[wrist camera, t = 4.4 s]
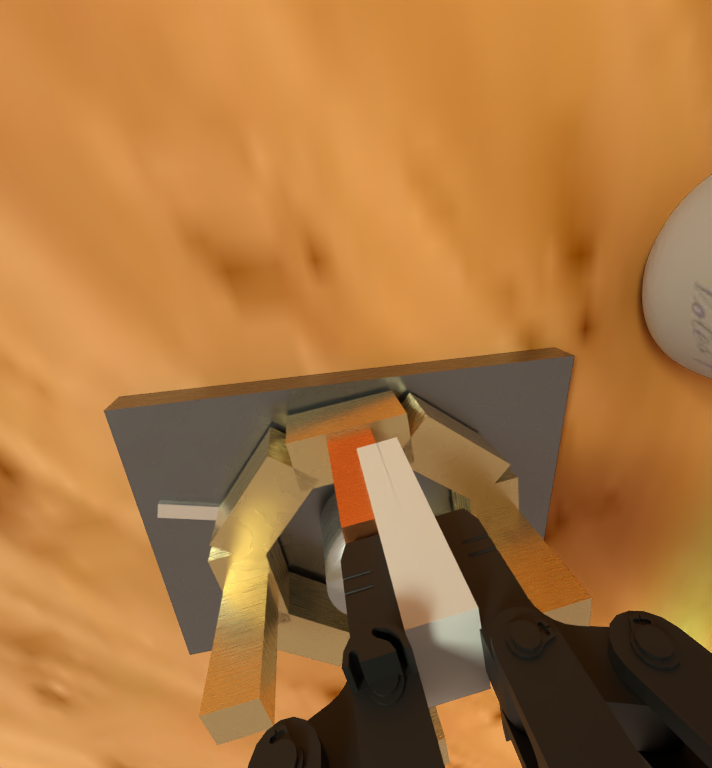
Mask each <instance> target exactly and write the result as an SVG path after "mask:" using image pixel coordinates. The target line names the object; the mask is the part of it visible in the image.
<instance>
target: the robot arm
mask: <svg viewBox="0 0 712 768" xmlns="http://www.w3.org/2000/svg"><path fill="white" fill-rule="evenodd" d="M357 453H358V456H359V460H360V464H361V468H362V471H363V475H364V479H365V483H366V486H367V490H368V494H369V498H370V502H371V505H372V509H373V513H374V517H375V520H376V524H377V528H378V532H379V534H378V535H374V536H371V537H367V538H364V539H361V540H357V541H354V542H350V543H347V544H345V547H344V551H343V554H342V557H341V560H340V562H341V570H342V578H343V586H344V593H345V602H346V610H347V618H348V626H349V634H350V638H349V640H348V642H347V645H346V647H345V649H344V651H343V659H342V669H343V672H344V674H345V677H346V679H347V682H346V684H345V686H344V688H343V689H342V691H341V692H340V694H339V695H338V696H337V697H336V698H335V699H334V700H333V701H332V702H331V703H330V704H329V705H327V706H326V707H325V708H323V709H322V710H321V711H319V712H318V713H317V714H316V715H314V716H313V717H312V718H310V719H309V720H308V721H306V720H304V719H300V718H296V717H291V718H287V719H283V720H280V721H279V722H277V723H276V724H275V725H273V726H272V727H271V728H269V729H268V730H267V731H266V733H265V734H264V735H263V737H262V738H261V739H260V741H259V742H258V743H257V745H256V747H255V750H254V752H253V755H252V757H251V760H250V762H249V765H248V768H445V765H444V762H443V758H442V754H441V751H440V747H439V743H438V740H437V736H436V733H435V729H434V725H433V722H432V718H431V715H430V711H429V708H430V707H433V706H437V705H440V704H443V703H446V702H449V701H452V700H456V699H459V698H462V697H465V696H468V695H471V694H475V693H478V692H481V691H484V690H487V689H491V687H490V682H491V684H492V686H493V689H494V691H495V693H496V696H497V698H498V700H499V703H500V710H501V717H502V724H503V730H504V734H505V738H506V741H509V740H511V741H512V743H513V746H514V748H515V750H516V753H517V755H518V758H519V760H520V762H521V765H522V767H523V768H712V653H711V652H709V651H708V650H707V649H705V648H704V647H703V646H702V645H700V644H699V643H698V642H696V641H695V640H694V639H693V638H691V637H690V636H689V635H687V634H686V633H685V632H684V631H682V630H681V629H680V628H678V627H677V626H675V625H673V624H672V623H670V622H669V621H667V620H665V619H664V618H662V617H659V616H656V615H653V614H650V613H647V612H644V611H627V612H624V613H621V614H619V615H616V617H615V618H614V619H613V621H612V622H611V623H610V626H609V627H595V626H576V625H570V624H565V623H562V622H559V621H556V620H554V619H552V618H550V617H548V616H547V615H545V614H543V613H542V612H541V611H540V610H539V609H537V608H536V607H535V606H534V605H533V603H532V602H531V601H530V600H529V598H528V597H527V595H526V594H525V592H524V590H523V589H522V587H521V586H520V584H519V582H518V581H517V579H516V578H515V576H514V575H513V573H512V571H511V570H510V568H509V567H508V565H507V563H506V562H505V560H504V559H503V557H502V555H501V554H500V552H499V551H498V550H497V549H496V546H495V544H494V543H493V541H492V540H491V538H490V537H489V536H488V533H487V532H486V530H485V528H484V527H483V525H482V524H481V522H480V520H479V519H478V518H477V517H475V516H474V515H472V514H471V513H470V512H468V511H467V510H465V509H464V508H462V509H459V510H455V511H452V512H449V513H445V514H442V515H438V516H434V514H433V512H432V510H431V508H430V506H429V504H428V502H427V500H426V498H425V495H424V493H423V491H422V489H421V487H420V485H419V483H418V481H417V479H416V477H415V475H414V472H413V470H412V468H411V466H410V464H409V462H408V460H407V458H406V456H405V454H404V452H403V449H402V447H401V445H400V443H399V441H398V439H397V437H396V438H392V439H389V440H385V441H381V442H378V443H374V444H371V445H367V446H364V447H360V448H357ZM489 679H490V681H489Z"/></svg>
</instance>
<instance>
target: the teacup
mask: <svg viewBox="0 0 712 768" xmlns="http://www.w3.org/2000/svg"><path fill="white" fill-rule="evenodd" d="M642 305H643V313H644V318H645V321H646V325H647V327H648V329H649V332H650V334H651V336H652V337H653V339H654V341H655V342H656V344H657V345H658V346H659V347H660V348H661V350H662V351H663V352H664V353H665V354H666V355H667V356H669V357H670V358H671V359H672V360H674V361H675V362H677V363H678V364H680V365H682V366H683V367H685V368H687V369H689V370H691V371H693V372H695V373H698V374H700V375H703V376H705V377H708V378H711V379H712V174H711V175H709V176H708V177H707V178H706V179H705V180H703V181H702V182H701V183H700V184H699V185H697V186H696V187H695V188H694V189H693V190H692V191H691V192H690V193H689V194H688V195H687V196H686V197H685V198H684V199H683V200H682V201H681V202H680V204H679V205H678V206H677V207H676V209H675V210H674V211H673V212H672V214H671V215H670V216H669V218H668V219H667V221H666V222H665V224H664V226H663V228H662V229H661V231H660V233H659V234H658V236H657V238H656V240H655V243H654V245H653V247H652V249H651V251H650V254H649V256H648V259H647V262H646V265H645V271H644V276H643V284H642Z"/></svg>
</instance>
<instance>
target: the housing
mask: <svg viewBox="0 0 712 768" xmlns="http://www.w3.org/2000/svg"><path fill="white" fill-rule="evenodd" d="M573 360H574V355H571V354H569V353H567V352H564V351H562V350H559V349H557V348H546V349H537V350H528V351H519V352H511V353H502V354H493V355H484V356H475V357H466V358H458V359H449V360H440V361H431V362H422V363H414V364H405V365H396V366H387V367H378V368H369V369H361V370H352V371H343V372H334V373H325V374H317V375H308V376H299V377H290V378H281V379H272V380H264V381H255V382H246V383H237V384H228V385H220V386H211V387H202V388H193V389H184V390H175V391H167V392H158V393H149V394H140V395H131V396H123V397H118V398H117V399H116V400H115V401H114V402H113V403H112V404H111V405H110V406H109V407H107V408H106V409H105V410H104V412H105V415H106V418H107V421H108V424H109V427H110V429H111V432H112V435H113V438H114V441H115V444H116V446H117V449H118V452H119V455H120V458H121V461H122V463H123V466H124V469H125V472H126V475H127V478H128V480H129V483H130V486H131V489H132V492H133V495H134V498H135V500H136V503H137V506H138V509H139V512H140V515H141V517H142V520H143V523H144V526H145V529H146V532H147V534H148V537H149V540H150V543H151V546H152V549H153V551H154V554H155V557H156V560H157V563H158V566H159V568H160V571H161V574H162V577H163V580H164V583H165V585H166V588H167V591H168V594H169V597H170V600H171V602H172V605H173V608H174V611H175V614H176V617H177V620H178V622H179V625H180V628H181V631H182V634H183V637H184V639H185V642H186V645H187V648H188V651H189V654H190V655H191V654H196V653H201V652H207V651H212V647H213V642H214V637H215V632H216V627H217V622H218V616H219V611H220V606H221V601H222V596H223V592H222V590H221V588H220V586H219V583H218V581H217V579H216V577H215V575H214V573H213V571H212V569H211V567H210V565H209V563H208V559H209V555H210V551H211V547H212V546H209V544H210V541H211V537H212V533H213V529H214V526H215V522H216V518H217V515H218V511H219V507H220V505H221V504H222V502H223V501H224V499H225V497H226V496H227V494H228V493H229V491H230V490H231V488H232V487H233V485H234V483H235V482H236V480H237V479H238V477H239V476H240V474H241V473H242V471H243V469H244V468H245V466H246V465H247V463H248V462H249V460H250V458H251V457H252V455H253V454H254V452H255V451H256V449H257V448H258V446H259V444H260V443H261V441H262V440H263V438H264V437H265V435H266V434H267V432H268V430H269V429H270V427H272V428H274V429H276V430H278V431H280V432H282V433H284V434H286V416H289V415H293V414H297V413H301V412H305V411H309V410H313V409H317V408H321V407H325V406H329V405H334V404H338V403H342V402H346V401H350V400H354V399H358V398H362V397H366V396H370V395H374V394H378V393H382V392H386V391H390V390H392V391H393V393H394V394H395V396H396V397H397V399H398V401H399V402H400V404H402V402H403V401H404V400H405V398H406V397H407V395H408V394H409V393H411V394H413V395H415V396H416V397H418V398H420V399H421V400H423V401H425V402H426V403H428V404H430V405H431V406H433V407H435V408H436V409H438V410H440V411H441V412H443V413H445V414H446V415H448V416H450V417H451V418H453V419H455V420H456V421H458V422H460V423H461V424H463V425H465V426H466V427H468V428H470V429H471V430H473V431H475V432H476V433H478V434H480V435H481V436H483V437H485V438H486V439H487V441H488V442H489V443H490V444H491V445H492V446H493V447H494V448H495V449H496V450H497V451H498V452H499V453H500V454H501V455H502V456H503V457H504V458H505V459H506V460H507V461H508V462H509V463H510V464H511V465H510V466H509V468H510V469H511V470H512V471H513V472H514V474H515V475H516V476H517V477H518V493H519V511H520V512H521V513H522V514H523V516H524V517H525V518H526V519H527V520H528V522H529V523H530V524H531V525H532V526H533V528H534V529H535V530H536V531H537V532H538V534H539V535H540V536H541V537H542V538H543V540H544V535H545V529H546V523H547V517H548V511H549V505H550V499H551V493H552V487H553V481H554V475H555V469H556V462H557V456H558V450H559V444H560V438H561V432H562V426H563V420H564V414H565V408H566V402H567V396H568V390H569V384H570V378H571V372H572V366H573ZM413 472H414V475H415V477H416V479H417V481H418V483H419V485H420V487H421V489H422V491H423V493H424V495H425V498H426V500H427V502H428V504H429V506H430V508H431V510H432V512H433V514H434V516H438V515H442V514H445V513H449V512H452V511H454V508H453V499H452V491H451V489H449V488H447V487H445V486H443V485H441V484H439V483H437V482H435V481H433V480H431V479H429V478H427V477H425V476H423V475H422V474H420V473H418V472H416V471H414V470H413ZM277 540H278V543H279V545H280V548H281V551H282V553H283V556H284V559H285V562H286V564H287V567H288V570H289V572H291V573H294V574H297V575H300V576H303V577H306V578H309V579H311V580H314V581H317V582H320V583H323V584H326V585H327V592H328V596H329V598H330V600H331V602H332V603H333V605H334V606H335V607H336V608H337V609H339V610H340V611H341V612H343V613H345V614H346V615H347V610H346V602H345V593H344V586H343V578H342V570H341V562H340V560H341V557H342V554H343V551H344V547H345V544H346V543H345V539H344V536H343V532H342V528H341V523H340V517H339V511H338V505H337V499H336V493H335V487H334V483H333V484H329V485H325V486H321V487H318V488H314V489H312V490H311V492H310V493H309V495H308V496H307V497H306V499H305V500H304V502H303V503H302V504H301V506H300V507H299V509H298V510H297V511H296V513H295V514H294V516H293V517H292V519H291V520H290V521H289V523H288V524H287V526H286V527H285V528H284V530H283V531H282V533H281V534H280V535H279V537H278V538H277Z"/></svg>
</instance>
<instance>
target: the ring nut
mask: <svg viewBox="0 0 712 768" xmlns="http://www.w3.org/2000/svg"><path fill="white" fill-rule="evenodd" d="M396 437H397V439H398V441H399V443H400V445H401V447H402V449H403V452H404V454H405V456H406V458H407V460H408V462H409V464H410V466H411V468H412V470H414V471H416V472H418V473H420V474H422V475H423V476H425V477H427V478H429V479H431V480H433V481H435V482H437V483H439V484H441V485H443V486H445V487H447V488H449V489H451V491H452V499H453V508H454V511H455V510H459V509H462V508H464V509H465V510H467V511H468V512H470V513H471V514H472V515H474V516H475V517H477V518H478V519H479V520H480V522H481V524H482V525H483V527H484V528H485V530H486V532H487V533H488V536H489V537H490V538H491V540H492V541H493V543H494V544H495V546H496V549H497V550H498V551H499V552H500V554H501V555H502V557H503V559H504V560H505V562H506V563H507V565H508V567H509V568H510V570H511V571H512V573H513V575H514V576H515V578H516V579H517V581H518V582H519V584H520V586H521V587H522V589H523V590H524V592H525V594H526V595H527V597H528V598H529V600H530V601H531V602H532V603H533V605H534V606H535V607H536V608H537V609H539V610H540V611H541V612H542V613H543V614H545V615H547V616H548V617H550V618H552V619H554V620H556V621H559V622H562V623H565V624H570V625H576V626H590V616H591V604H592V597H591V596H590V595H589V594H588V593H587V591H586V590H585V589H584V588H583V587H582V585H581V584H580V583H579V582H578V581H577V579H576V578H575V577H574V576H573V575H572V573H571V572H570V571H569V570H568V569H567V567H566V566H565V565H564V564H563V563H562V561H561V560H560V559H559V558H558V557H557V555H556V554H555V553H554V552H553V551H552V549H551V548H550V547H549V546H548V544H547V543H546V542H545V541H544V540H543V538H542V537H541V536H540V535H539V534H538V532H537V531H536V530H535V529H534V528H533V526H532V525H531V524H530V523H529V522H528V520H527V519H526V518H525V517H524V516H523V514H522V513H521V512H520V511H519V493H518V477H517V476H516V475H515V474H514V472H513V471H512V470H511V469H510V468H509V466H510V465H511V464H510V463H509V462H508V461H507V460H506V459H505V458H504V457H503V456H502V455H501V454H500V453H499V452H498V451H497V450H496V449H495V448H494V447H493V446H492V445H491V444H490V443H489V442H488V441H487V439H486V438H485V437H483V436H481V435H480V434H478V433H476V432H475V431H473V430H471V429H470V428H468V427H466V426H465V425H463V424H461V423H460V422H458V421H456V420H455V419H453V418H451V417H450V416H448V415H446V414H445V413H443V412H441V411H440V410H438V409H436V408H435V407H433V406H431V405H430V404H428V403H426V402H425V401H423V400H421V399H420V398H418V397H416V396H415V395H413V394H411V393H409V394H408V395H407V397H406V398H405V400H404V401H403V402H402V404H400V402H399V401H398V399H397V397H396V396H395V394H394V393H393V391H392V390H390V391H386V392H382V393H378V394H374V395H370V396H366V397H362V398H358V399H354V400H350V401H346V402H342V403H338V404H334V405H329V406H325V407H321V408H317V409H313V410H309V411H305V412H301V413H297V414H293V415H289V416H286V434H284V433H282V432H280V431H278V430H276V429H274V428H272V427H270V429H269V430H268V432H267V434H266V435H265V437H264V438H263V440H262V441H261V443H260V444H259V446H258V448H257V449H256V451H255V452H254V454H253V455H252V457H251V458H250V460H249V462H248V463H247V465H246V466H245V468H244V469H243V471H242V473H241V474H240V476H239V477H238V479H237V480H236V482H235V483H234V485H233V487H232V488H231V490H230V491H229V493H228V494H227V496H226V497H225V499H224V501H223V502H222V504H221V505H220V507H219V511H218V515H217V518H216V522H215V526H214V529H213V533H212V537H211V541H210V544H209V546H212V547H211V551H210V555H209V559H208V563H209V565H210V567H211V569H212V571H213V573H214V575H215V577H216V579H217V581H218V583H219V586H220V588H221V590H222V592H223V596H222V601H221V606H220V611H219V616H218V622H217V627H216V632H215V637H214V642H213V647H212V652H211V658H210V663H209V668H208V673H207V678H206V683H205V688H204V694H203V699H202V704H201V709H200V714H199V717H200V718H201V720H202V722H203V723H204V725H205V726H206V728H207V729H208V731H209V733H210V734H211V736H212V737H213V739H214V740H215V742H216V744H217V745H219V744H222V743H226V742H229V741H232V740H235V739H239V738H242V737H245V736H248V735H252V734H255V733H258V732H261V731H265V730H268V729H269V728H271V727H272V726H273V725H274V717H275V690H276V662H277V650H281V651H284V652H288V653H292V654H296V655H299V656H303V657H307V658H311V659H314V660H318V661H322V662H325V663H329V664H333V665H337V666H340V665H341V663H342V659H343V651H344V649H345V647H346V645H347V642H348V640H349V638H350V634H349V626H348V618H347V615H346V614H345V613H343V612H341V611H340V610H339V609H337V608H336V607H335V606H334V605H333V603H332V602H331V600H330V598H329V596H328V592H327V585H326V584H323V583H320V582H317V581H314V580H311V579H309V578H306V577H303V576H300V575H297V574H294V573H291V572H289V570H288V567H287V564H286V562H285V559H284V556H283V553H282V551H281V548H280V545H279V543H278V540H277V538H278V537H279V535H280V534H281V533H282V531H283V530H284V528H285V527H286V526H287V524H288V523H289V521H290V520H291V519H292V517H293V516H294V514H295V513H296V511H297V510H298V509H299V507H300V506H301V504H302V503H303V502H304V500H305V499H306V497H307V496H308V495H309V493H310V492H311V490H312V489H314V488H318V487H321V486H325V485H329V484H333V483H334V487H335V493H336V499H337V505H338V511H339V517H340V523H341V528H342V532H343V536H344V539H345V543H346V544H347V543H350V542H354V541H357V540H361V539H364V538H367V537H371V536H374V535H378V534H379V532H378V528H377V524H376V520H375V517H374V513H373V509H372V505H371V502H370V498H369V494H368V490H367V486H366V483H365V479H364V475H363V471H362V468H361V464H360V460H359V456H358V453H357V448H360V447H364V446H367V445H371V444H374V443H378V442H381V441H385V440H389V439H392V438H396ZM429 711H430V715H431V718H432V722H433V725H434V729H435V733H436V736H437V740H438V743H439V747H440V751H441V754H442V758H443V762H444V765H446V764H449V763H450V762H449V757H448V751H447V746H446V740H445V736H444V733H443V730H442V726H441V723H440V720H439V717H438V713H437V710H436V707H435V706H433V707H430V708H429Z"/></svg>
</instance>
